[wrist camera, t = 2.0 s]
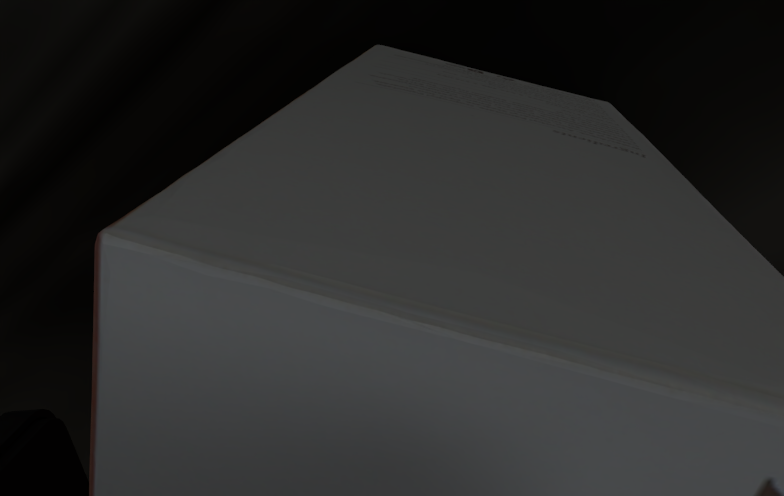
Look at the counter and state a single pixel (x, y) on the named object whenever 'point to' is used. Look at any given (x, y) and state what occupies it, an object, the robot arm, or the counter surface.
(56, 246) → the counter surface
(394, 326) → the small box
